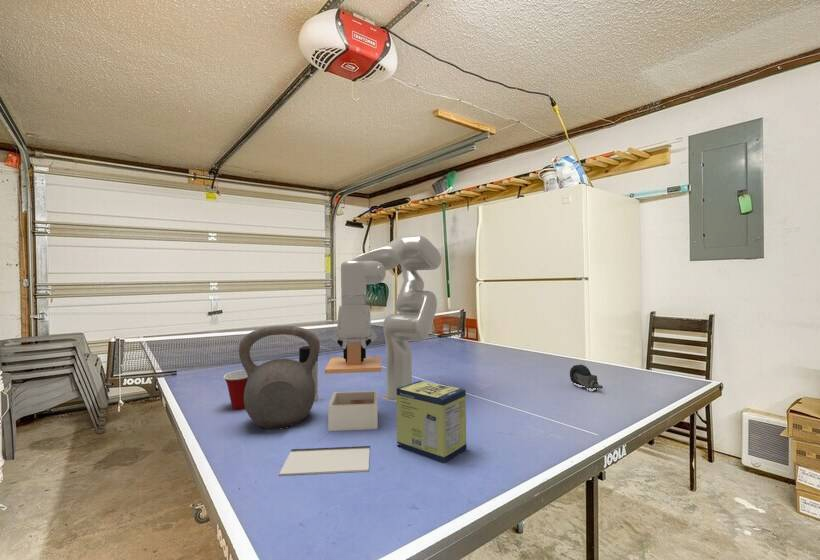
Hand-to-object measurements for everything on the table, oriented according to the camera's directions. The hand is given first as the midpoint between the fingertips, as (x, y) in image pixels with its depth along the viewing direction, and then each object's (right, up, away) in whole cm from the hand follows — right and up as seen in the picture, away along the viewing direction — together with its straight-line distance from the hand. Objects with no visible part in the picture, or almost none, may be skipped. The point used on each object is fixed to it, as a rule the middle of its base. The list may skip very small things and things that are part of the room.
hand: (354, 360), depth 119 cm
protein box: (+22, -19, -18) cm, 35 cm away
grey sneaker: (+87, -19, +36) cm, 96 cm away
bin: (0, -19, 0) cm, 20 cm away
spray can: (-20, -20, +22) cm, 36 cm away
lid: (0, -2, 0) cm, 2 cm away
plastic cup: (-43, -20, +17) cm, 50 cm away
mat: (-3, -19, -21) cm, 29 cm away
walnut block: (+1, -18, +1) cm, 19 cm away
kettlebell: (-23, -20, +2) cm, 31 cm away
